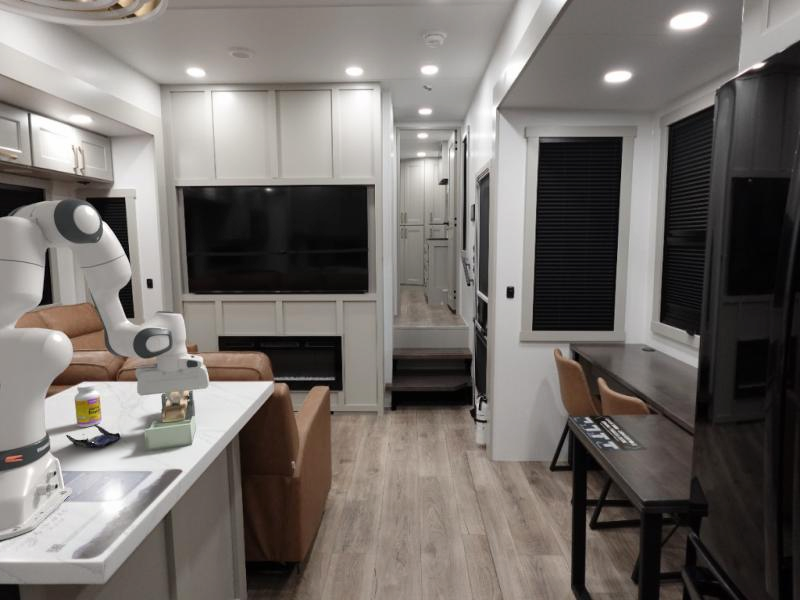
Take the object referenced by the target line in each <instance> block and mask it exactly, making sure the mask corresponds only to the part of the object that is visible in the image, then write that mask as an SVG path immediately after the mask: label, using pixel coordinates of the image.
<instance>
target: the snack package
mask: <svg viewBox="0 0 800 600" xmlns="http://www.w3.org/2000/svg"><path fill="white" fill-rule="evenodd" d="M90 427H94V428H97V429H98V431H99V433H101V434H100V435H96V436H93V437H91V438H88V437H87V438H86V439H85V438H83V439H75V438H74V437H72V436H71V435H69V434H65V435H66V438H67V439H68V440H69V441H70V442H71V443H73V444H74V445H77V444H78V445H80V446H83V447H86V448H87V447H88V448H89V447H90V448H91V447H94V446H95V447H97V448H101V449H102V448H103V447H104V446H105V445H107V444H110V445H112V444H114V443H116V442H118V440H120V439H121V438H122V437H121V434H120V433H119V432H117V433H112V432H109V431H108V430H107V429H105V428H104V427H102V426H100V425H98V424H97V425H96V424H95V425H94V426H92V425H91V426H90ZM82 435H83V436H85V434H84V433H82ZM92 442H94V443H92Z"/></svg>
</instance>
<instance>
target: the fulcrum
mask: <svg viewBox="0 0 800 600" xmlns="http://www.w3.org/2000/svg"><path fill="white" fill-rule="evenodd" d="M166 398H167V397H166V396H165V393H161V414H162V413H163V409H164V406H166ZM192 416H195V417H196V407H195V400H194V390H189V400H188V402H187V408H186V414H185V420H191V419H192ZM178 421H184V420H178ZM170 422H176V421H170ZM161 423H168V422H163V421H162V420H161Z"/></svg>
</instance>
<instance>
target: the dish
mask: <svg viewBox="0 0 800 600" xmlns="http://www.w3.org/2000/svg"><path fill="white" fill-rule="evenodd" d="M196 430H197V423H196V415H195V416H192V419H191V420H184V421H176V422H168V423H162V422H161V423H157V420H152V422H151V424H150V427H149V428H145V429H144V433H143V434H144V440H145V441H144V443H145V451H146V452H149V451H155V450H157V451H158V450H163V449H169V448H176V447H177V448H178V447H182V446H183V447H184V446H191V445H193V441H194V438H195V434H196Z"/></svg>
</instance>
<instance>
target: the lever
mask: <svg viewBox="0 0 800 600" xmlns="http://www.w3.org/2000/svg"><path fill="white" fill-rule="evenodd" d="M189 391H190V390H187V391H184V394H183V396H182V398H181V405H175V406H170V401H169V400H168V399H167V397H166V406H164V409H163V413H162V412H161V422H162V421H163V422H170V421H178V420H185V414H186V408H187V402H188V401H189ZM170 396H171V397H172V398H173V399H177V398H179V396H180V395H179V394H178V392H171V395H170Z"/></svg>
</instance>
